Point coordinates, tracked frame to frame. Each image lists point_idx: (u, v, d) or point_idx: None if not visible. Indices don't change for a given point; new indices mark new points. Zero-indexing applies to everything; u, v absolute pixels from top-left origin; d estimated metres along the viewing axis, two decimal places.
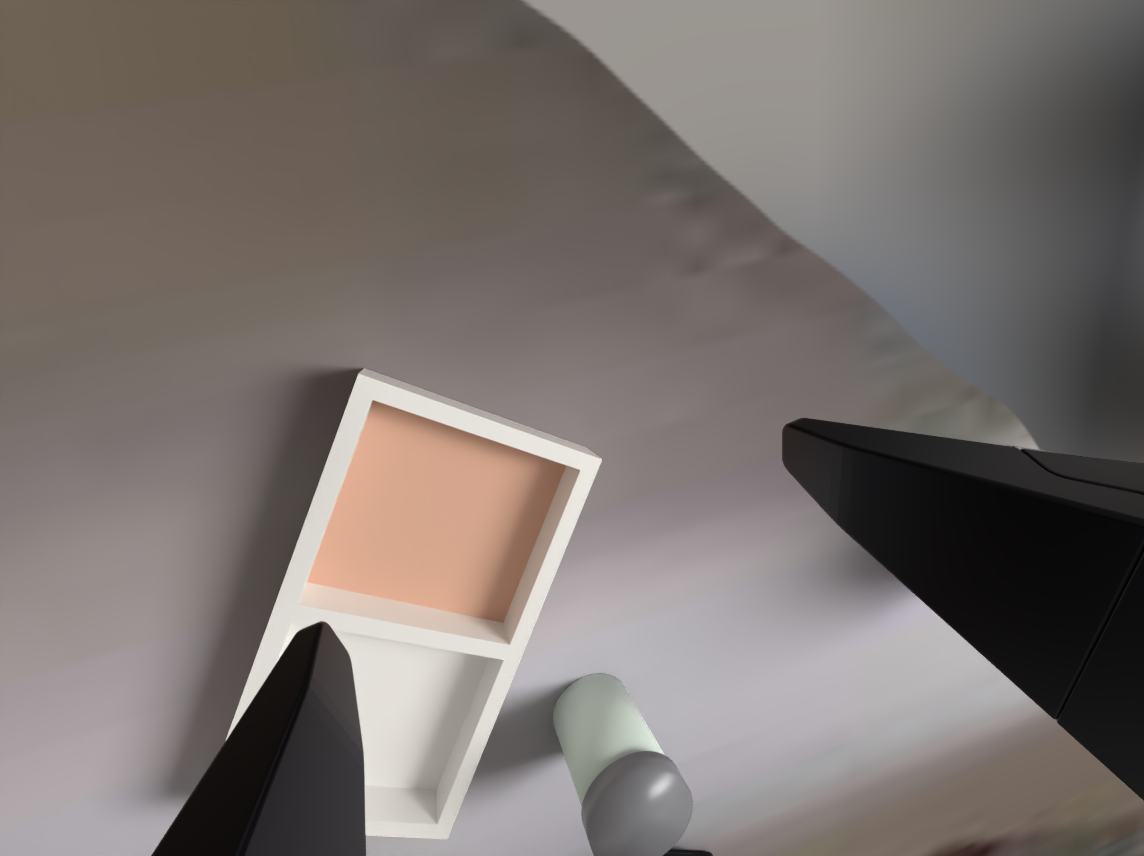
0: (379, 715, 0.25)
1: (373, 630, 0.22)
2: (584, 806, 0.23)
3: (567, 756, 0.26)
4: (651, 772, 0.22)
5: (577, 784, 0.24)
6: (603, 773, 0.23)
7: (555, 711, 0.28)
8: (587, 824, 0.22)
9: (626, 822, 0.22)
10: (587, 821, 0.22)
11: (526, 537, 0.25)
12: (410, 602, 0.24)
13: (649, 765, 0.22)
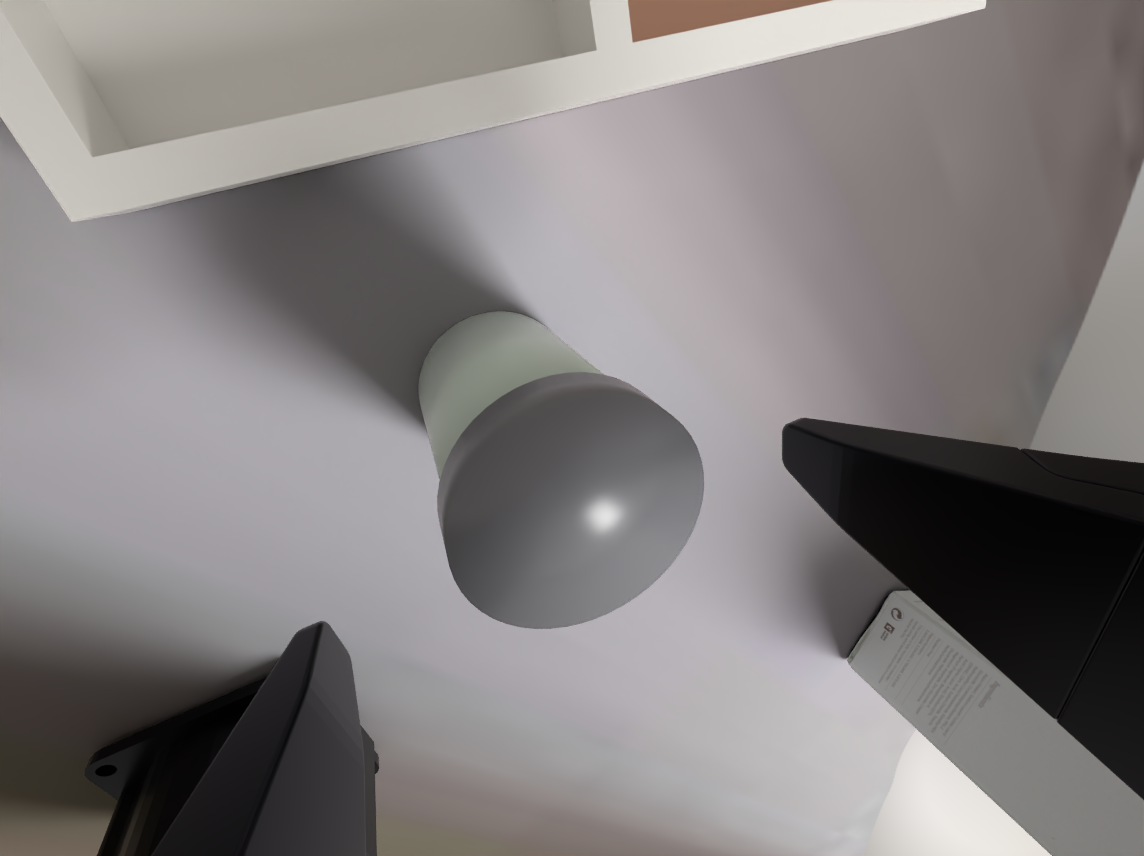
0: None
1: None
2: (515, 394, 0.09)
3: (470, 359, 0.11)
4: (696, 447, 0.09)
5: (486, 384, 0.10)
6: (603, 376, 0.09)
7: (467, 321, 0.14)
8: (509, 416, 0.08)
9: (572, 489, 0.09)
10: (514, 412, 0.08)
11: None
12: None
13: None
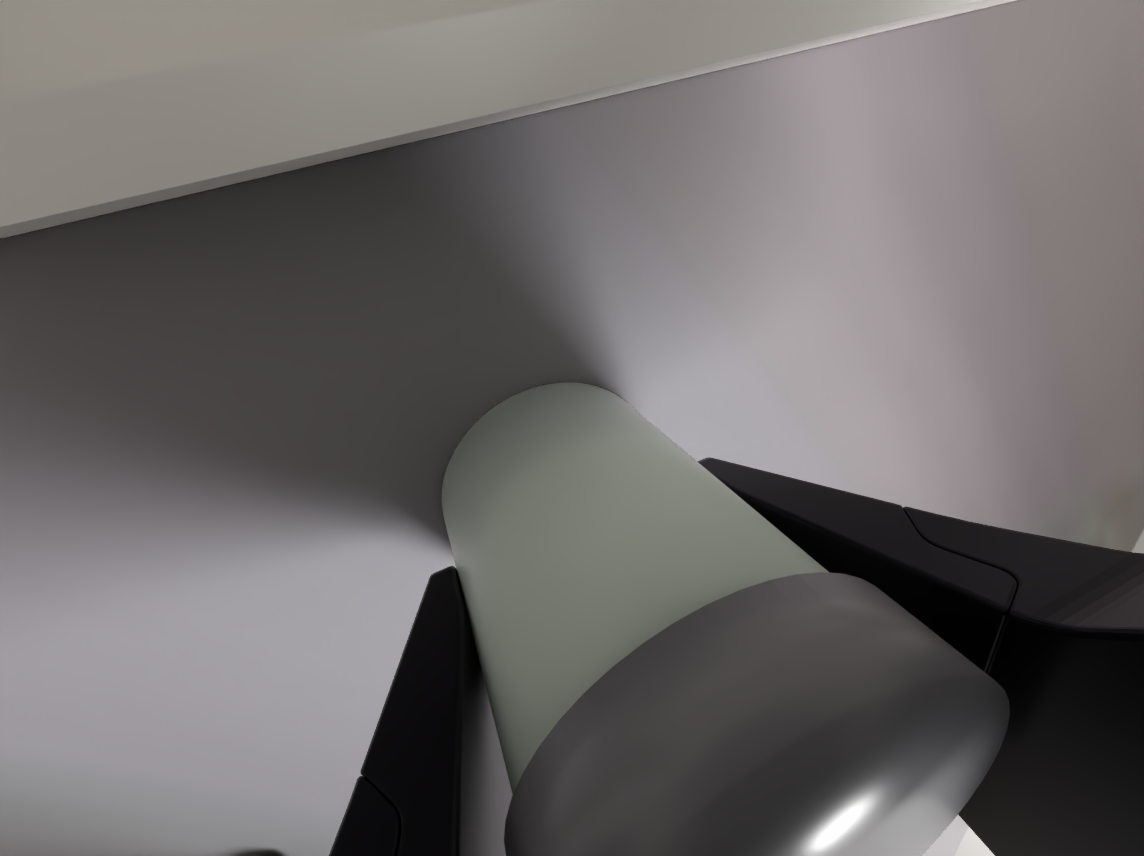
0: None
1: None
2: (677, 648, 0.04)
3: (537, 489, 0.07)
4: (1006, 712, 0.05)
5: (585, 569, 0.05)
6: (833, 583, 0.05)
7: (516, 400, 0.09)
8: (687, 732, 0.04)
9: (796, 844, 0.04)
10: (697, 722, 0.04)
11: None
12: None
13: None
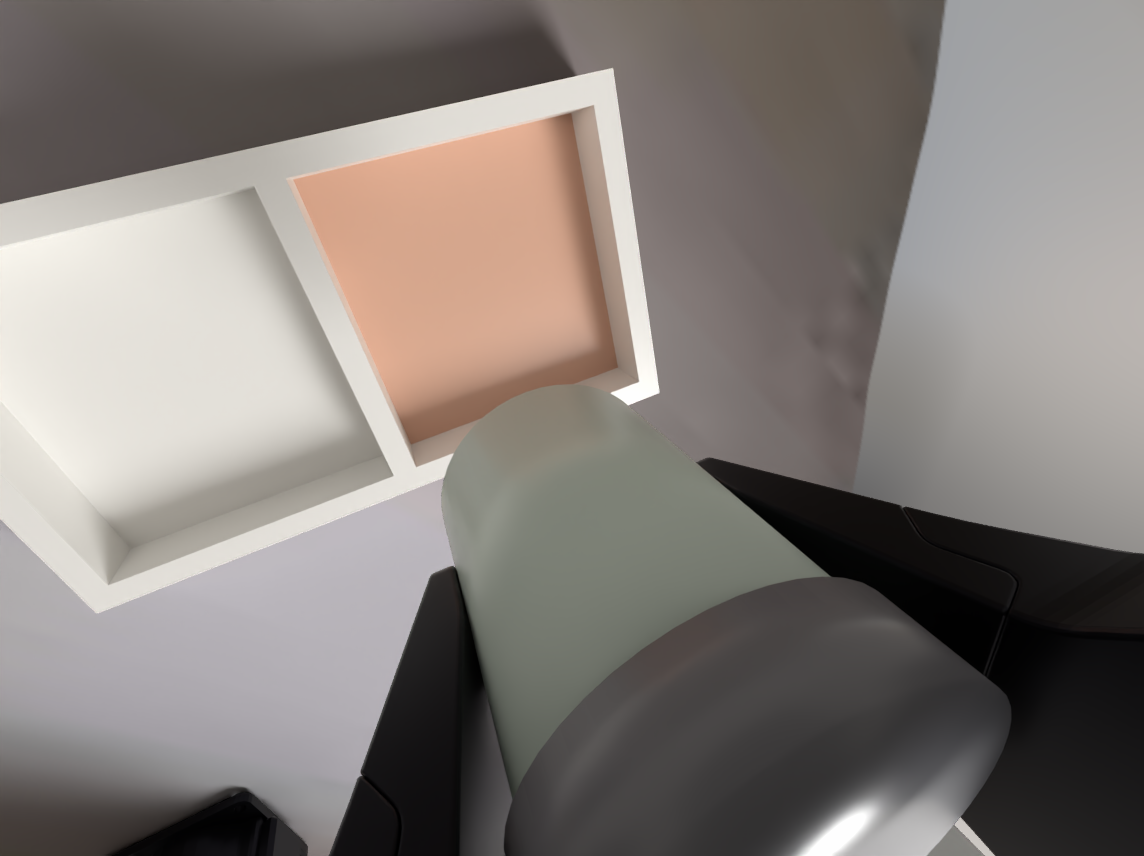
0: (178, 404, 0.16)
1: (321, 303, 0.15)
2: (677, 654, 0.04)
3: (537, 492, 0.07)
4: (1007, 717, 0.05)
5: (585, 573, 0.05)
6: (834, 587, 0.05)
7: (516, 402, 0.09)
8: (686, 739, 0.04)
9: (797, 850, 0.04)
10: (697, 728, 0.04)
11: (518, 391, 0.20)
12: (360, 327, 0.17)
13: None
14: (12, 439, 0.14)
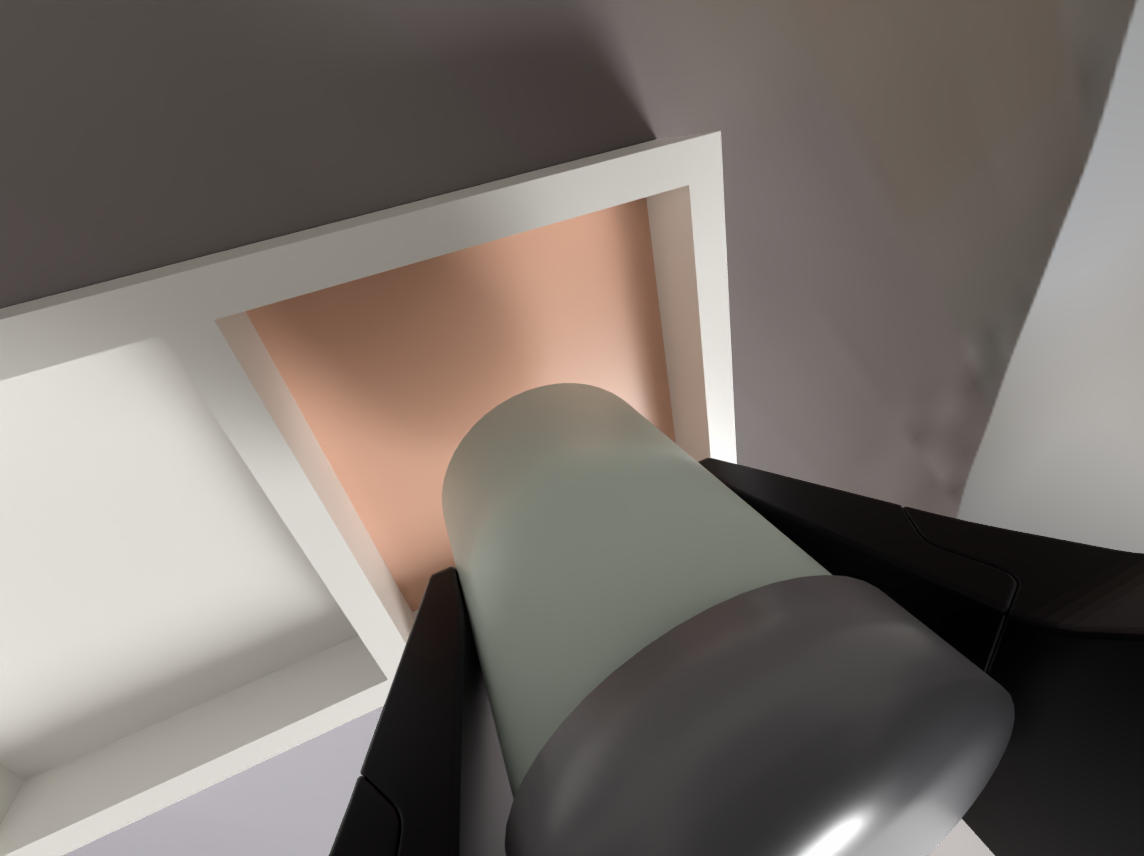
0: (80, 603, 0.11)
1: (279, 486, 0.10)
2: (679, 652, 0.04)
3: (538, 491, 0.07)
4: (1010, 715, 0.05)
5: (587, 571, 0.05)
6: (836, 586, 0.05)
7: (516, 401, 0.09)
8: (689, 738, 0.04)
9: (800, 849, 0.04)
10: (700, 727, 0.04)
11: None
12: (342, 482, 0.12)
13: None
14: None
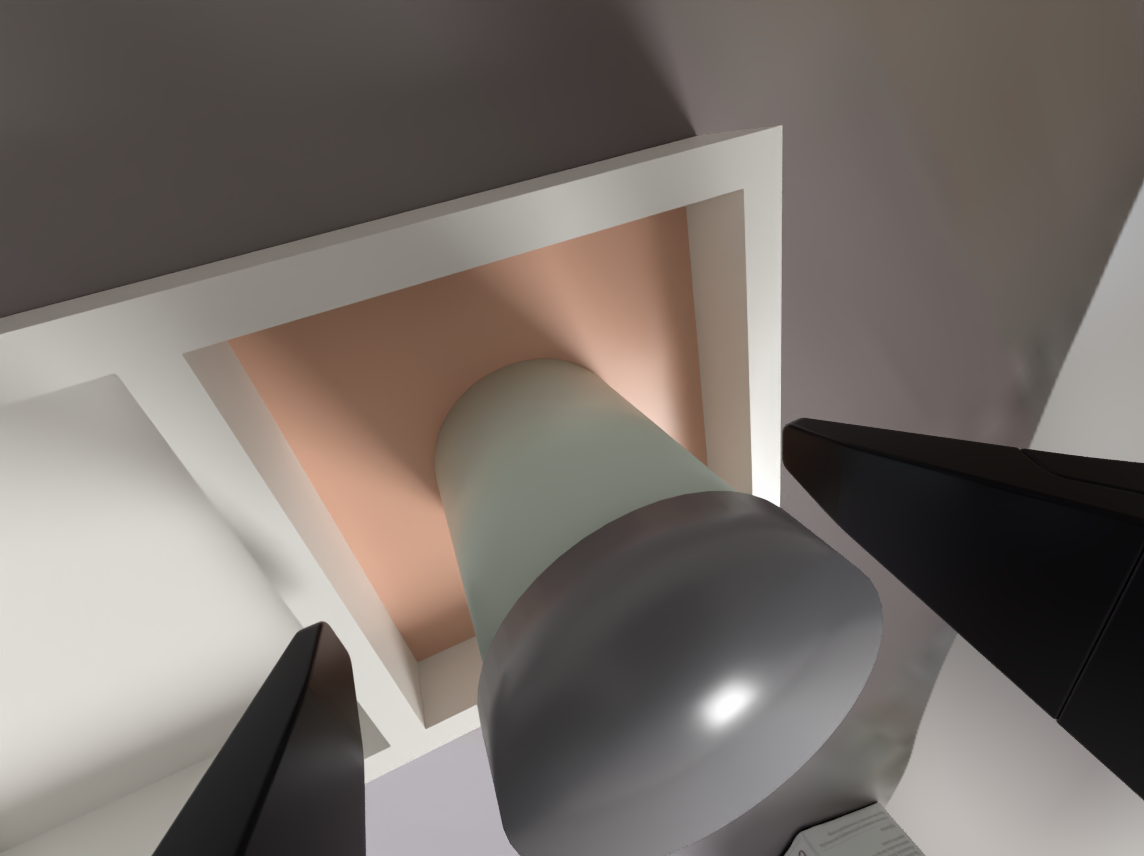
0: (37, 670, 0.10)
1: (263, 542, 0.08)
2: (608, 540, 0.05)
3: (512, 441, 0.08)
4: (879, 604, 0.06)
5: (547, 496, 0.07)
6: (738, 498, 0.06)
7: (499, 373, 0.10)
8: (608, 591, 0.05)
9: (701, 692, 0.05)
10: (615, 584, 0.05)
11: None
12: (339, 525, 0.11)
13: None
14: None
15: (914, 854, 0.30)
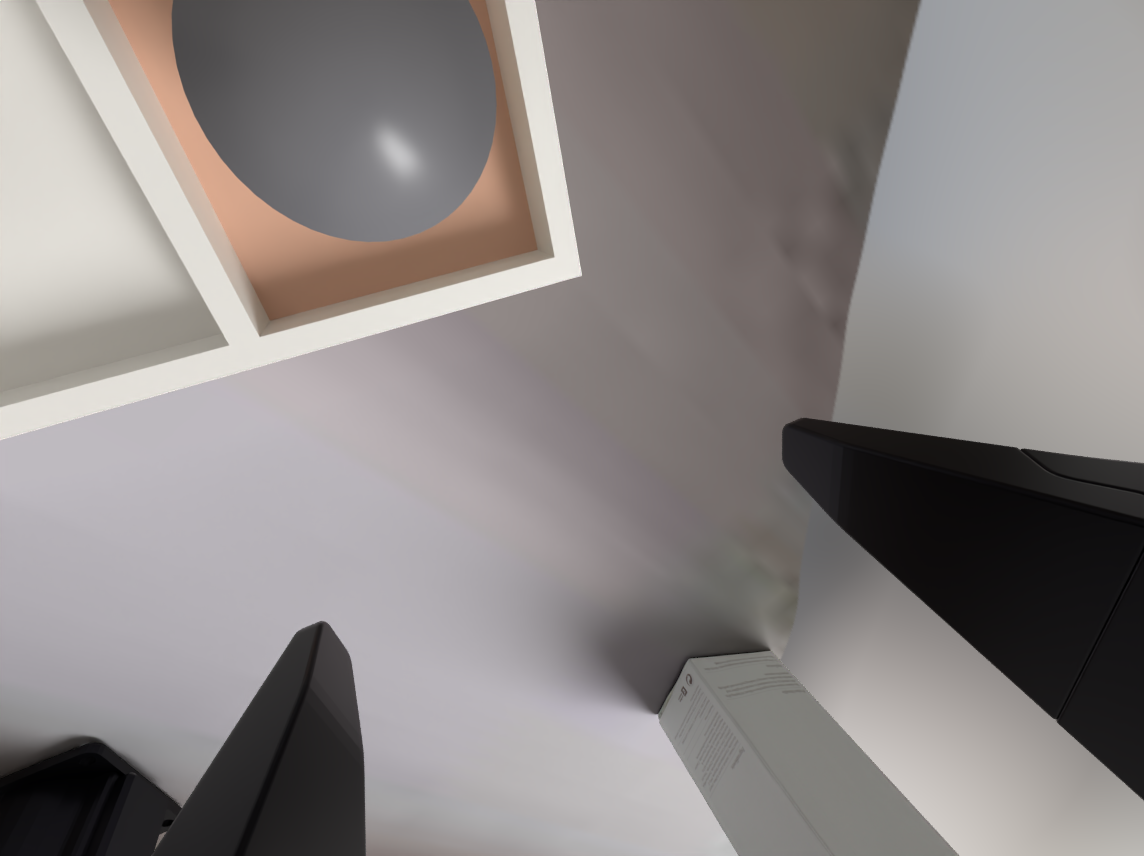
0: None
1: (96, 80, 0.11)
2: None
3: None
4: (477, 19, 0.09)
5: None
6: None
7: None
8: None
9: (326, 27, 0.08)
10: None
11: (409, 265, 0.17)
12: (185, 149, 0.13)
13: None
14: None
15: (794, 685, 0.33)
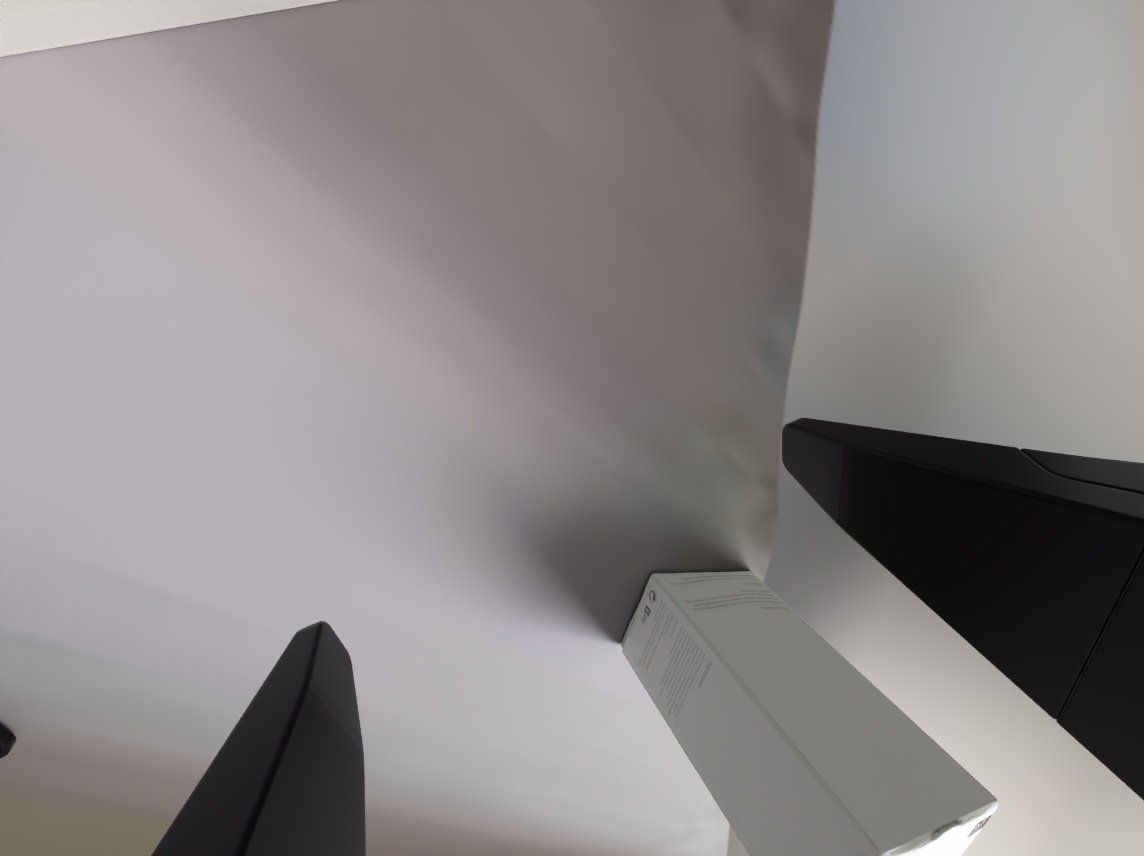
0: None
1: None
2: None
3: None
4: None
5: None
6: None
7: None
8: None
9: None
10: None
11: None
12: None
13: None
14: None
15: (775, 602, 0.29)
